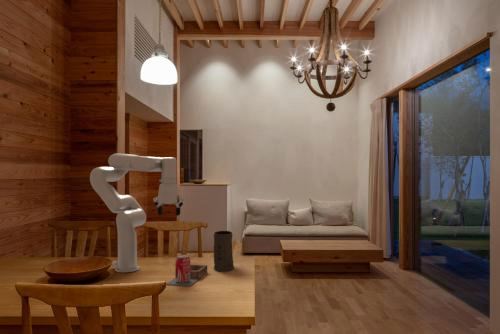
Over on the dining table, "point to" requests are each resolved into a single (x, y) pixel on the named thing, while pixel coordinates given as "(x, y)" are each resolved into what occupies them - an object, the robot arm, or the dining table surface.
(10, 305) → the dining table surface
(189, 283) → the mat
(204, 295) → the dining table surface
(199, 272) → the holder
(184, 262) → the soda can
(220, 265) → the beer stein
